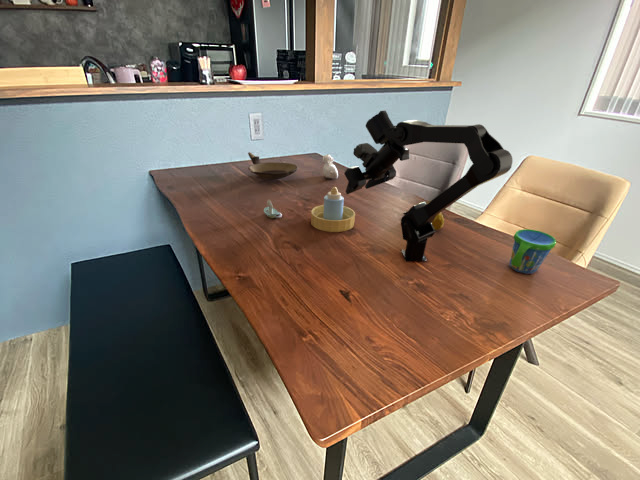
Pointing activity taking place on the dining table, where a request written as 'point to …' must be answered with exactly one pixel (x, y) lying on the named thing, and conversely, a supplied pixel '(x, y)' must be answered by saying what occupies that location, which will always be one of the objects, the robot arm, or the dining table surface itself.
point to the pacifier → (271, 211)
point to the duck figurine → (329, 167)
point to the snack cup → (530, 250)
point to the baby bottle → (333, 205)
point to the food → (438, 221)
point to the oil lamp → (271, 168)
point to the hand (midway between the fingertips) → (356, 190)
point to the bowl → (332, 225)
